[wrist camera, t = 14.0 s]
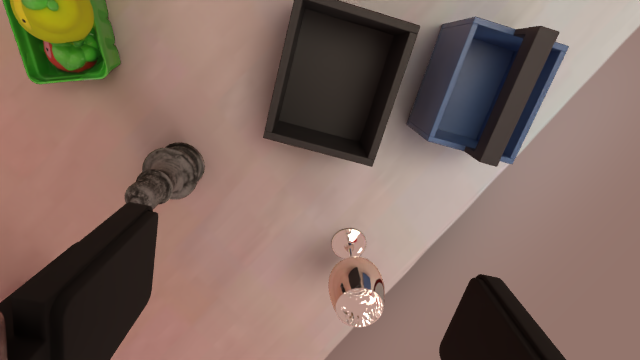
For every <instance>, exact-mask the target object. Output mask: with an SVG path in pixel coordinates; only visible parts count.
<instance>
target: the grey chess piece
mask: <svg viewBox="0 0 640 360" xmlns="http://www.w3.org/2000/svg"><path fill="white" fill-rule="evenodd" d="M204 168H205V166H204V160H203V158H202V156H201V154H200V153H199V152H198V151H197V150H196V149H195V148H194V147H192V146H190V145H188V144H185V143H173V144H170V145H168V146H167V147H165V148H160V149H157V150H154V151H153V152H151V153H150V154H149V155H148V156H147V157H146V158H145V160H144V163H143V167H142V173H141V174H140V175H139V176H138V177H137V180H136V182H135V183H134V184H132V185H131V186H129V188H128V189H127V190H126V192H125V202H126V203H128V202H134V203H138V204H143V205H148V206H151V207H152V210H153V209H154V208H155V207H156V206H157V205H158V204H162V203H165V202H167V201H168V200H169V199H181V198H184V197H186V196H187V195H189V194H190V193H191V192H192V191H193V190H194V189H195V187H196V184H197V182H198V181H199V179H200V178H201V177H202V175H203V173H204Z"/></svg>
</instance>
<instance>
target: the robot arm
mask: <svg viewBox="0 0 640 360" xmlns="http://www.w3.org/2000/svg"><path fill="white" fill-rule="evenodd" d="M157 226H158V213H156V212H153V210H152V207H151V206H148V205H143V204H138V203H134V202H128V203H126V204H125V205H124V206H123V207H122V208H120V209H119V210H118V211H117V212H115V213H114V214H113V215H112V216H110V217H109V218H108V219H107V220H105V221H104V222H103V223H102V224H101V225H99V226H98V227H97V228H96V229H94V230H93V231H92V232H91V233H89V234H88V235H87V236H86V237H84V238H83V239H82V240H81V241H80V242H77V243H75V244H74V245H72V246H71V247H70V248H68V249H67V250H66V251H65V252H63V253H62V254H61V255H60V256H58V257H57V258H56V259H55V260H53V261H52V262H51V263H50V264H48V265H47V266H46V267H45V268H43V269H42V270H41V271H40V272H38V273H37V274H36V275H35V276H33V277H32V278H31V279H30V280H28V281H27V282H26V283H25V284H23V285H22V286H21V287H20V288H18V289H17V290H16V291H15V292H13V293H12V294H11V295H10V296H8V297H7V298H6V299H5V300H3V301H2V302H1V303H0V360H110V359H111V357H112V356H113V354H114V353H115V351H116V350H117V348H118V347H119V345H120V344H121V342H122V341H123V339H124V338H125V336H126V335H127V333H128V332H129V330H130V329H131V327H132V326H133V324H134V323H135V321H136V320H137V318H138V317H139V315H140V314H141V312H142V311H143V309H144V308H145V306H146V305H147V303H148V301H149V298H150V295H151V291H152V280H153V269H154V258H155V247H156V237H157ZM439 353H440V358H441V360H566V359H565V358H564V357H563V355H562V354H561V353H560V351H559V350H558V349H557V348H556V347H555V345H554V344H553V343H552V342H551V340H550V339H549V338H548V337H547V335H546V334H545V333H544V332H543V330H542V329H541V328H540V327H539V325H538V324H537V323H536V322H535V320H533V318H532V317H531V315H530V314H529V313H528V312H527V311H526V309H525V308H524V307H523V306H522V304H521V303H520V302H519V301H518V299H517V298H516V297H515V296H514V294H513V293H512V292H511V291H510V290H509V288H508V287H507V286H506V285H505V283H504V282H503V281H502V280H501V279H500V278H497V277H492V276H487V275H482V274H480V275H478V276H477V277H476V278H472V279H471V280H470V282H469V284H468V286H467V288H466V290H465V292H464V294H463V297H462V299H461V301H460V303H459V305H458V307H457V309H456V312H455V314H454V316H453V318H452V320H451V322H450V324H449V327H448V329H447V331H446V333H445V335H444V338H443V340H442V342H441V344H440V349H439Z"/></svg>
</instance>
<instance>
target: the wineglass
mask: <svg viewBox="0 0 640 360" xmlns="http://www.w3.org/2000/svg"><path fill="white" fill-rule="evenodd" d="M331 245H332V249H333V251H334V253H335V254H336V255H337V256H339V257H341V258H343V260H341V261H340V262H338V263H337V264H336V265H335V266H334V268H333V269H332V271H331V273H330V276H329V282H328V288H329V295H330V299H331V302H332V305H333V307H334V310H335V312H336V314H337V316H338V318H339V319H340V320H341V321H342V322H343V323H345V324H347V325H349V326H353V327H364V326H368V325H370V324H372V323H374V322H375V321H377V320H378V319H379V318H380V316H381V315H382V312H383V308H384V297H385V291H384V283H383V279H382V276H381V274H380V272H379V270H378V268H377V267H376V266H375V265H374V264H373V263H372V262H371V261H369V260H367V259H365V258H362V257H358V256H360V255H361V254H362V253H363V252H364V250H365V248H366V239H365V237H364V235H363V234H362V233H361V232H360V231H358V230H356V229H351V228H347V229H343V230H341V231H339V232H337V233H336V234H335V235H334V237H333V239H332V243H331Z"/></svg>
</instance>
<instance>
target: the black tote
mask: <svg viewBox="0 0 640 360" xmlns="http://www.w3.org/2000/svg"><path fill="white" fill-rule="evenodd" d="M419 29H420V26H419V25H416V24H413V23H410V22H406V21H403V20H400V19H397V18H394V17H390V16H387V15H384V14H381V13H378V12H374V11H371V10H368V9H365V8H361V7H358V6H355V5H352V4H349V3H345V2H342V1H339V0H294V3H293V7H292V12H291V16H290V21H289V25H288V30H287V34H286V38H285V43H284V47H283V52H282V56H281V61H280V65H279V69H278V74H277V78H276V83H275V87H274V92H273V96H272V101H271V105H270V109H269V114H268V118H267V123H266V127H265V131H264V136H263V138H266V139H270V140H273V141H277V142H281V143H285V144H288V145H292V146H296V147H300V148H304V149H307V150H311V151H315V152H319V153H322V154H326V155H330V156H334V157H338V158H341V159H345V160H349V161H353V162H356V163H360V164H364V165H368V166H373V163H374V160H375V157H376V154H377V151H378V148H379V145H380V143H381V140H382V137H383V134H384V131H385V128H386V125H387V122H388V119H389V116H390V113H391V110H392V108H393V105H394V102H395V99H396V96H397V93H398V90H399V87H400V84H401V81H402V78H403V75H404V73H405V70H406V67H407V64H408V61H409V58H410V55H411V52H412V49H413V46H414V43H415V40H416V38H417V34H418V31H419Z"/></svg>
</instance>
